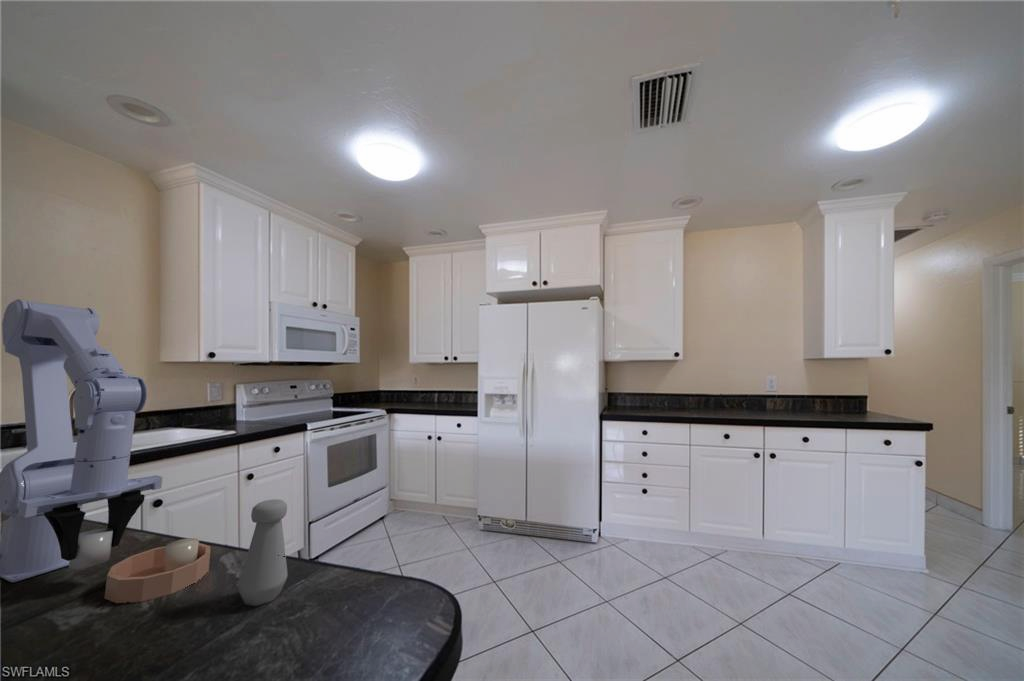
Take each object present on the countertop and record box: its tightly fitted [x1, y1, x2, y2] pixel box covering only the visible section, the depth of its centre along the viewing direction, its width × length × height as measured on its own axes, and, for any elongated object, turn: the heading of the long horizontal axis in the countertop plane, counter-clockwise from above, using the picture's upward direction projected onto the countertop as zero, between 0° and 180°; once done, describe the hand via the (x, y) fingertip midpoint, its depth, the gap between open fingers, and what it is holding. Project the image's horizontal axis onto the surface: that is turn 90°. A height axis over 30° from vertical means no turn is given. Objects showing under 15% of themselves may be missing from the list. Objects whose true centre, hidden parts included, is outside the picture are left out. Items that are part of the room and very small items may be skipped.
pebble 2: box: [163, 537, 200, 572], centre depth 58 cm, size 4×4×4 cm
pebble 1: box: [68, 528, 113, 570], centre depth 55 cm, size 4×4×4 cm
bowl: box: [104, 542, 211, 604], centre depth 56 cm, size 11×11×3 cm
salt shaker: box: [238, 498, 288, 607], centre depth 53 cm, size 6×6×13 cm
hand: (91, 551), depth 55 cm, fingers closed on pebble 1, 4 cm apart
